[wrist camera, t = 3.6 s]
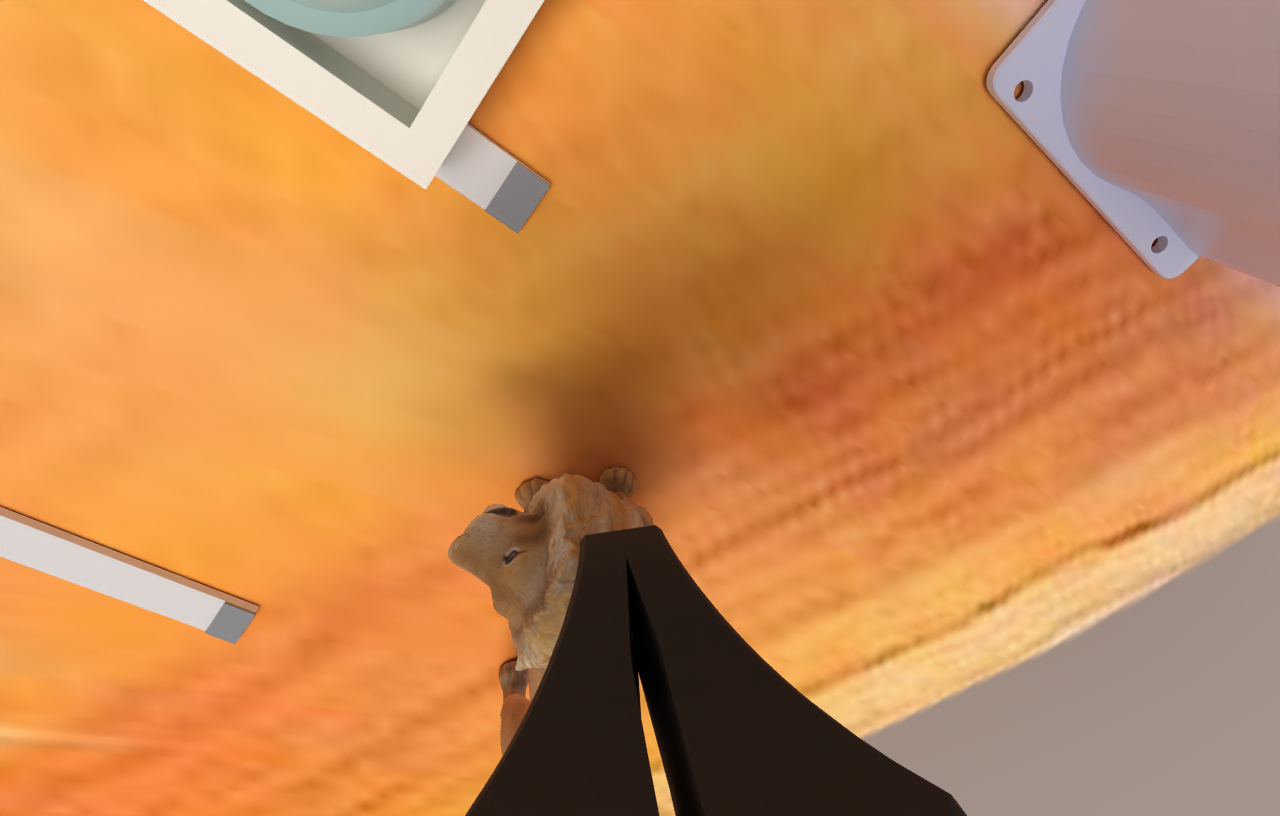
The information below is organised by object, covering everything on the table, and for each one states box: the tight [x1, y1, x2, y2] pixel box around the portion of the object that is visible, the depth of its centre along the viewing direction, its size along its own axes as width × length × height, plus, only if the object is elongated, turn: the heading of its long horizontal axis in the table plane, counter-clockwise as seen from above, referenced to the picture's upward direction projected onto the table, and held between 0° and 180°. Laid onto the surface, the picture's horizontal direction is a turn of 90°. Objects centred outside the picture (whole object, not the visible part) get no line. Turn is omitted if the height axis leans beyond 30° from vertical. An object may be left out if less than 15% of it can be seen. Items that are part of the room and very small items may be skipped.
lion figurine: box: [448, 467, 653, 755], centre depth 21 cm, size 15×5×9 cm, turn 179°
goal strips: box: [0, 123, 550, 644], centre depth 20 cm, size 9×18×1 cm, turn 142°
